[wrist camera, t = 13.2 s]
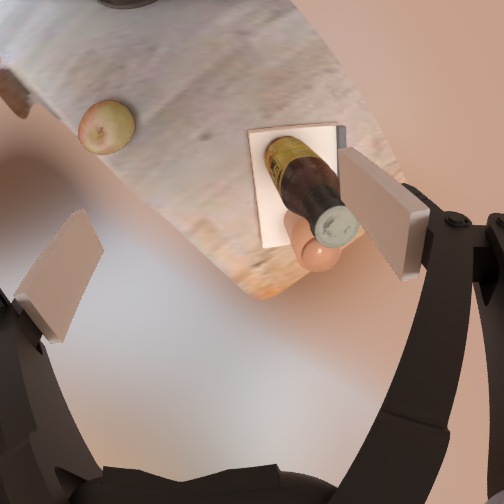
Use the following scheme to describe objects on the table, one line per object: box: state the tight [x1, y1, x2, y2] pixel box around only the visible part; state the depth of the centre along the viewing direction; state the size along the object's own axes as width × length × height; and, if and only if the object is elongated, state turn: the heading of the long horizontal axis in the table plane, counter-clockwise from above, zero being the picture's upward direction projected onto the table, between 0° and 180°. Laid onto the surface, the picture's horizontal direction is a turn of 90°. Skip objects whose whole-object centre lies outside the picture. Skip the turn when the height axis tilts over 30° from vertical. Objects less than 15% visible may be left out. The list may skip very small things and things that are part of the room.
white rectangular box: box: [248, 123, 346, 248], centre depth 43 cm, size 18×13×4 cm
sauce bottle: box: [265, 136, 360, 248], centre depth 31 cm, size 7×6×20 cm
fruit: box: [78, 100, 135, 155], centre depth 33 cm, size 8×7×8 cm
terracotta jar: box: [284, 210, 342, 272], centre depth 41 cm, size 6×6×10 cm
